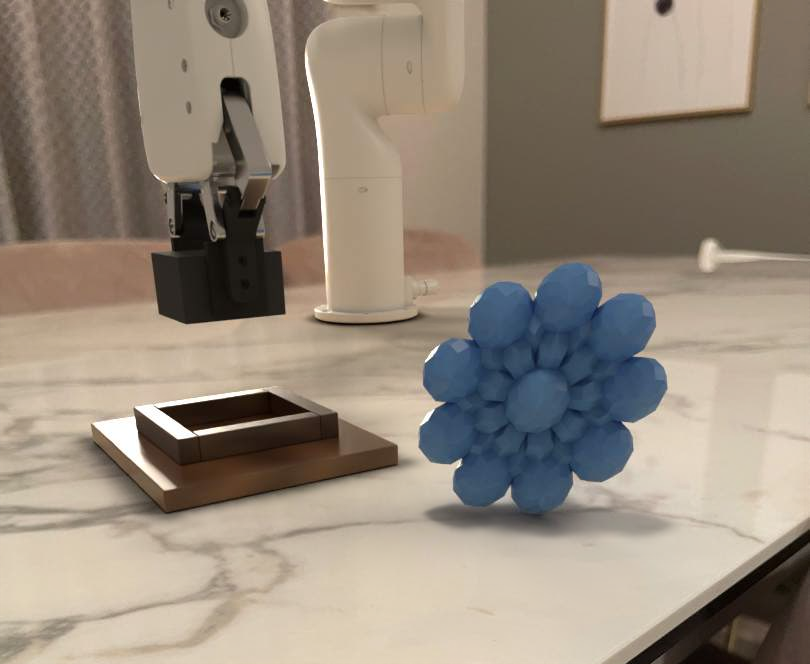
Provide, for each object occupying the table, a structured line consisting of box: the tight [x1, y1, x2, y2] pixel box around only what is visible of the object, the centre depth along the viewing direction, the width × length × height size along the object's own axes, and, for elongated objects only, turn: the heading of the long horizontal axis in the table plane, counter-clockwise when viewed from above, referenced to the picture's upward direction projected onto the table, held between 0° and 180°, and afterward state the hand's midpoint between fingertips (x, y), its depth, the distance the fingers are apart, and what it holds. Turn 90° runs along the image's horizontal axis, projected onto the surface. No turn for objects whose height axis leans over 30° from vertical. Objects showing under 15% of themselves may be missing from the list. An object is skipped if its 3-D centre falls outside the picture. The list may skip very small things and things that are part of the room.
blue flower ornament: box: [417, 262, 669, 515], centre depth 41 cm, size 12×7×12 cm, turn 82°
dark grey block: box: [150, 248, 287, 325], centre depth 49 cm, size 6×5×4 cm
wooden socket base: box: [90, 385, 399, 513], centre depth 53 cm, size 14×16×3 cm
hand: (222, 307), depth 49 cm, fingers closed on dark grey block, 5 cm apart
